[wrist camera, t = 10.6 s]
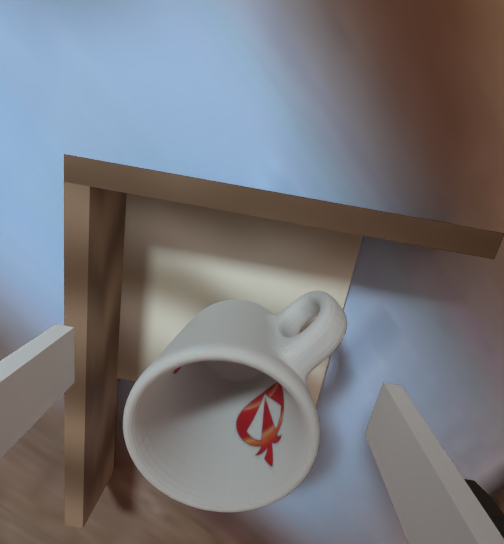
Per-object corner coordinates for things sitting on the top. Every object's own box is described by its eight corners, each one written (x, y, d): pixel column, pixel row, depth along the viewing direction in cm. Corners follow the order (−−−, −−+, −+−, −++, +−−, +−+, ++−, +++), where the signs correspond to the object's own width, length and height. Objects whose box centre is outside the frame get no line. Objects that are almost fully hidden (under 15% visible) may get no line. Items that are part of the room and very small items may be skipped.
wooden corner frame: (110, 162, 17) (63, 154, 13) (450, 224, 17) (504, 233, 13) (98, 469, 23) (64, 525, 19) (346, 515, 23) (363, 579, 19)
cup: (277, 225, 17) (285, 253, 9) (360, 320, 18) (427, 413, 11) (153, 334, 19) (79, 429, 12) (235, 412, 21) (216, 543, 13)
